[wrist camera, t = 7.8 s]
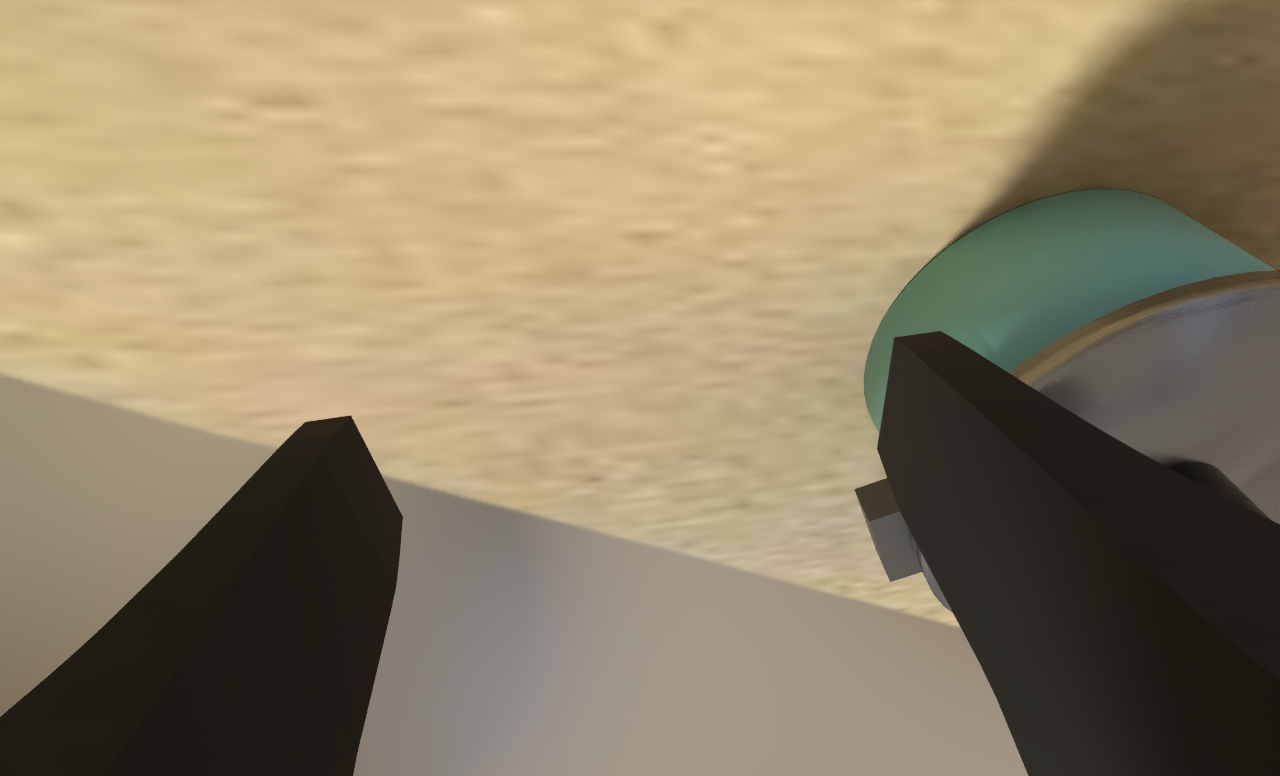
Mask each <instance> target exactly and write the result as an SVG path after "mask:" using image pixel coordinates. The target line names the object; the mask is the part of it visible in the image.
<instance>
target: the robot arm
mask: <svg viewBox="0 0 1280 776" xmlns="http://www.w3.org/2000/svg"><path fill="white" fill-rule="evenodd" d="M877 450H878V452H879V455H880V458H881V461H882V464H883V467H884V469H885V472H886V475H887V478H888V481H889V484H890V486H891V489H892V491H893V494H894V497H895V499H896V502H897V504H898V507H899V510H900V512H901V514H902V516H903V518H904V520H905V522H906V524H907V526H908V528H909V530H910V532H911V534H912V536H913V538H914V540H915V542H916V544H917V546H918V547H919V549H920V551H921V553H922V555H923V557H924V559H925V561H926V563H927V565H928V567H929V568H930V570H931V572H932V574H933V576H934V578H935V580H936V582H937V584H938V585H939V587H940V589H941V591H942V593H943V595H944V597H945V599H946V600H947V602H948V604H949V606H950V608H951V610H952V612H953V614H954V615H955V617H956V619H957V621H958V623H959V625H960V627H961V629H962V630H963V632H964V634H965V636H966V638H967V640H968V642H969V644H970V646H971V647H972V649H973V651H974V653H975V655H976V657H977V659H978V661H979V663H980V664H981V666H982V669H983V671H984V673H985V675H986V677H987V679H988V681H989V683H990V685H991V687H992V689H993V692H994V694H995V696H996V698H997V700H998V703H999V705H1000V708H1001V710H1002V712H1003V715H1004V717H1005V720H1006V722H1007V724H1008V727H1009V729H1010V732H1011V734H1012V737H1013V739H1014V742H1015V744H1016V746H1017V749H1018V751H1019V754H1020V756H1021V759H1022V761H1023V763H1024V766H1025V768H1026V770H1027V773H1028V775H1029V776H1280V524H1278V523H1276V522H1274V521H1272V520H1270V519H1268V518H1266V517H1264V516H1261V515H1259V514H1257V513H1255V512H1253V511H1251V510H1249V509H1247V508H1245V507H1243V506H1240V505H1238V504H1236V503H1234V502H1232V501H1230V500H1228V499H1226V498H1224V497H1222V496H1220V495H1218V494H1217V493H1215V492H1213V491H1211V490H1209V489H1207V488H1205V487H1203V486H1201V485H1199V484H1197V483H1195V482H1193V481H1191V480H1190V479H1188V478H1186V477H1184V476H1182V475H1180V474H1179V473H1177V472H1175V471H1173V470H1171V469H1170V468H1168V467H1166V466H1164V465H1162V464H1160V463H1159V462H1157V461H1155V460H1153V459H1151V458H1149V457H1148V456H1146V455H1144V454H1142V453H1140V452H1139V451H1137V450H1135V449H1133V448H1131V447H1130V446H1128V445H1126V444H1124V443H1123V442H1121V441H1119V440H1118V439H1116V438H1114V437H1112V436H1111V435H1109V434H1107V433H1106V432H1104V431H1102V430H1100V429H1099V428H1097V427H1095V426H1094V425H1092V424H1090V423H1089V422H1087V421H1085V420H1084V419H1082V418H1080V417H1079V416H1077V415H1075V414H1074V413H1072V412H1071V411H1069V410H1067V409H1066V408H1064V407H1062V406H1061V405H1059V404H1057V403H1056V402H1054V401H1053V400H1051V399H1049V398H1048V397H1046V396H1045V395H1043V394H1041V393H1040V392H1038V391H1037V390H1035V389H1033V388H1032V387H1030V386H1029V385H1027V384H1026V383H1024V382H1022V381H1021V380H1019V379H1018V378H1016V377H1015V376H1013V375H1011V374H1010V373H1008V372H1007V371H1005V370H1004V369H1002V368H1000V367H999V366H997V365H996V364H994V363H993V362H991V361H989V360H988V359H986V358H985V357H983V356H981V355H980V354H978V353H977V352H975V351H974V350H972V349H970V348H969V347H967V346H966V345H964V344H962V343H961V342H959V341H957V340H956V339H954V338H952V337H950V336H949V335H947V334H945V333H943V332H942V331H935V332H928V333H921V334H915V335H908V336H901V337H894V342H893V348H892V355H891V361H890V368H889V374H888V381H887V388H886V394H885V401H884V407H883V414H882V420H881V427H880V433H879V440H878V447H877ZM402 520H403V516H402V514H401V512H400V511H399V509H398V507H397V505H396V503H395V501H394V499H393V497H392V495H391V493H390V491H389V490H388V487H387V485H386V483H385V481H384V479H383V477H382V475H381V473H380V471H379V470H378V468H377V466H376V464H375V462H374V460H373V458H372V456H371V454H370V452H369V450H368V448H367V446H366V444H365V442H364V440H363V438H362V436H361V434H360V432H359V431H358V429H357V427H356V425H355V423H354V421H353V419H352V417H351V416H345V417H338V418H331V419H324V420H317V421H310V422H305V423H304V424H303V425H302V426H301V427H300V428H299V429H298V430H296V431H295V432H294V433H293V434H292V435H291V436H290V437H289V438H288V439H287V440H286V441H285V442H284V443H283V444H282V445H281V446H280V447H279V448H278V449H277V450H276V452H275V453H274V454H273V455H272V456H271V457H270V458H269V459H268V460H267V461H266V462H265V463H264V464H263V465H262V466H261V467H260V468H259V470H257V472H256V473H255V474H254V475H253V476H252V477H251V478H250V479H249V480H248V481H247V482H246V483H245V484H244V486H242V487H241V489H240V490H239V491H238V492H237V493H236V494H235V495H234V496H233V497H232V498H231V499H230V500H229V501H228V502H227V504H225V505H224V506H223V508H222V509H221V510H220V511H219V512H218V513H217V514H216V515H215V516H214V517H213V518H212V519H211V520H210V521H209V522H208V523H207V524H206V525H205V526H204V527H203V528H202V529H201V531H199V533H198V534H197V535H196V536H195V537H194V538H193V539H192V540H191V541H190V542H189V543H188V544H187V545H186V546H185V547H184V548H183V549H182V550H181V551H180V552H179V553H178V554H177V555H176V556H175V557H174V558H173V559H172V560H171V561H170V562H169V563H168V564H167V565H166V566H165V567H164V568H163V569H162V570H161V571H160V572H159V573H158V574H157V575H156V576H155V577H154V578H153V579H152V580H151V581H150V582H149V583H148V584H146V585H145V587H143V588H142V589H141V590H140V591H139V592H138V593H137V594H136V595H135V596H134V597H133V598H132V599H131V600H130V601H129V602H128V603H127V604H126V605H125V606H124V607H123V608H122V609H121V610H120V611H119V612H118V613H117V614H116V615H115V616H114V617H113V618H112V619H111V620H109V622H108V623H106V624H105V625H104V626H103V627H102V629H100V630H99V631H98V632H97V633H96V634H95V635H94V636H93V637H92V638H90V639H89V640H88V641H87V642H86V643H85V644H84V645H83V646H82V647H81V648H80V649H78V650H77V651H76V652H75V653H74V654H73V655H72V656H71V657H69V658H68V659H67V660H66V661H65V662H64V663H63V664H62V665H60V666H59V667H58V668H57V669H56V670H55V671H54V672H53V673H51V674H50V675H49V676H48V677H47V678H46V679H44V680H43V681H42V682H41V683H40V684H38V686H36V687H35V688H34V689H33V690H31V691H30V692H29V693H28V694H27V695H26V696H24V697H23V698H22V699H21V700H20V701H19V702H17V703H16V704H15V705H14V706H13V707H11V708H10V709H9V710H8V711H7V712H6V713H4V714H3V715H2V716H1V717H0V776H353V773H354V767H355V762H356V757H357V752H358V747H359V744H360V739H361V735H362V731H363V727H364V723H365V718H366V714H367V710H368V706H369V702H370V697H371V693H372V689H373V685H374V680H375V676H376V672H377V668H378V664H379V659H380V655H381V651H382V647H383V643H384V638H385V634H386V630H387V625H388V620H389V616H390V612H391V608H392V603H393V599H394V594H395V589H396V582H397V575H398V566H399V556H400V545H401V531H402Z"/></svg>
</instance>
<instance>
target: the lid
mask: <svg viewBox="0 0 1280 776" xmlns="http://www.w3.org/2000/svg"><path fill="white" fill-rule="evenodd" d="M1010 374H1011V375H1013V376H1015V377H1016V378H1018V379H1019V380H1021V381H1022V382H1024V383H1026V384H1027V385H1029V386H1030V387H1032V388H1033V389H1035V390H1037V391H1038V392H1040V393H1041V394H1043V395H1045V396H1046V397H1048V398H1049V399H1051V400H1053V401H1054V402H1056V403H1057V404H1059V405H1061V406H1062V407H1064V408H1066V409H1067V410H1069V411H1071V412H1072V413H1074V414H1075V415H1077V416H1079V417H1080V418H1082V419H1084V420H1085V421H1087V422H1089V423H1090V424H1092V425H1094V426H1095V427H1097V428H1099V429H1100V430H1102V431H1104V432H1106V433H1107V434H1109V435H1111V436H1112V437H1114V438H1116V439H1118V440H1119V441H1121V442H1123V443H1124V444H1126V445H1128V446H1130V447H1131V448H1133V449H1135V450H1137V451H1139V452H1140V453H1142V454H1144V455H1146V456H1148V457H1149V458H1151V459H1153V460H1155V461H1157V462H1159V463H1160V464H1162V465H1164V466H1166V467H1168V468H1170V469H1171V470H1173V471H1175V472H1177V473H1179V474H1180V475H1182V476H1184V477H1186V478H1188V479H1190V480H1191V481H1193V482H1195V483H1197V484H1199V485H1201V486H1203V487H1205V488H1207V489H1209V490H1211V491H1213V492H1215V493H1217V494H1218V495H1220V496H1222V497H1224V498H1226V499H1228V500H1230V501H1232V502H1234V503H1236V504H1238V505H1240V506H1243V507H1245V508H1247V509H1249V510H1251V511H1253V512H1255V513H1257V514H1259V515H1261V516H1264V517H1266V518H1268V519H1270V520H1272V521H1274V522H1276V523H1278V524H1280V270H1275V271H1253V272H1246V273H1240V274H1233V275H1227V276H1220V277H1214V278H1210V279H1207V280H1203V281H1199V282H1195V283H1191V284H1187V285H1183V286H1179V287H1175V288H1172V289H1170V290H1167V291H1164V292H1161V293H1158V294H1155V295H1152V296H1150V297H1147V298H1144V299H1141V300H1138V301H1135V302H1133V303H1131V304H1129V305H1126V306H1124V307H1122V308H1120V309H1117V310H1115V311H1113V312H1111V313H1108V314H1106V315H1104V316H1102V317H1099V318H1097V319H1095V320H1093V321H1092V322H1090V323H1088V324H1086V325H1084V326H1082V327H1080V328H1079V329H1077V330H1075V331H1073V332H1071V333H1069V334H1067V335H1066V336H1064V337H1062V338H1060V339H1059V340H1057V341H1056V342H1054V343H1052V344H1051V345H1049V346H1048V347H1046V348H1045V349H1043V350H1042V351H1040V352H1039V353H1037V354H1035V355H1034V356H1032V357H1031V358H1029V359H1028V360H1026V361H1025V362H1024V363H1022V364H1021V365H1020V366H1018V367H1017V368H1016V369H1015V370H1013V371H1012V372H1011V373H1010ZM908 536H909V540H910V544H911V548H912V551H913V553H914V555H915V558H916V560H917V562H918V564H919V566H920V568H921V570H922V572H923V574H924V576H925V578H926V580H927V582H928V584H929V586H930V588H931V590H932V592H933V594H934V595H935V596H936V598H937V599H938V600H939V601H940V602H941V603H942V604H943V606H944V607H946V608H947V609H948V610H950V611H951V612H952V610H951V608H950V606H949V604H948V602H947V600H946V599H945V597H944V595H943V593H942V591H941V589H940V587H939V585H938V584H937V582H936V580H935V578H934V576H933V574H932V572H931V570H930V568H929V567H928V565H927V563H926V561H925V559H924V557H923V555H922V553H921V551H920V549H919V547H918V546H917V544H916V542H915V540H914V538H913V536H912V534H911V532H910V530H909V528H908Z"/></svg>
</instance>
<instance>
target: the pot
mask: <svg viewBox="0 0 1280 776" xmlns="http://www.w3.org/2000/svg"><path fill="white" fill-rule="evenodd" d="M1275 270H1276V269H1274V268H1272V267H1271V266H1269V265H1267V264H1266V263H1264V262H1262V261H1261V260H1259V259H1258V258H1256V257H1254V256H1253V255H1251V254H1249V253H1248V252H1246V251H1245V250H1243V249H1241V248H1240V247H1238V246H1236V245H1235V244H1233V243H1232V242H1230V241H1228V240H1227V239H1225V238H1223V237H1222V236H1220V235H1219V234H1217V233H1215V232H1214V231H1212V230H1210V229H1209V228H1207V227H1205V226H1204V225H1202V224H1201V223H1199V222H1197V221H1196V220H1194V219H1192V218H1191V217H1189V216H1188V215H1186V214H1184V213H1183V212H1181V211H1179V210H1178V209H1176V208H1175V207H1173V206H1171V205H1169V204H1167V203H1166V202H1164V201H1162V200H1160V199H1158V198H1155V197H1152V196H1149V195H1146V194H1143V193H1140V192H1134V191H1127V190H1120V189H1090V190H1082V191H1074V192H1067V193H1063V194H1059V195H1055V196H1051V197H1047V198H1043V199H1040V200H1037V201H1034V202H1031V203H1028V204H1026V205H1023V206H1020V207H1017V208H1015V209H1013V210H1011V211H1008V212H1006V213H1004V214H1002V215H1000V216H998V217H996V218H993V219H991V220H990V221H988V222H986V223H984V224H983V225H981V226H979V227H978V228H976V229H974V230H972V231H971V232H969V233H967V234H966V235H965V236H963V237H962V238H960V239H959V240H958V241H956V242H955V243H953V244H952V245H951V246H949V247H948V248H946V249H945V250H944V251H943V252H941V253H940V254H939V255H938V256H937V257H936V258H935V259H933V260H932V261H931V262H930V263H929V264H928V265H926V266H925V267H924V268H923V269H922V270H921V271H920V272H919V273H918V275H917V276H916V277H915V278H914V279H913V280H912V281H911V282H910V283H909V284H908V285H907V286H906V287H905V289H904V290H903V291H902V293H901V294H900V295H899V296H898V298H897V299H896V300H895V302H894V303H893V304H892V306H891V307H890V309H889V311H888V312H887V314H886V315H885V317H884V319H883V320H882V322H881V324H880V326H879V328H878V330H877V332H876V335H875V337H874V339H873V341H872V344H871V347H870V350H869V354H868V357H867V361H866V367H865V374H864V394H865V399H866V404H867V408H868V410H869V413H870V415H871V418H872V420H873V422H874V424H875V426H876V428H877V430H878V432H879V433H880V427H881V420H882V414H883V407H884V401H885V394H886V388H887V381H888V374H889V368H890V361H891V355H892V348H893V342H894V337H901V336H908V335H915V334H921V333H928V332H935V331H942V332H943V333H945V334H947V335H949V336H950V337H952V338H954V339H956V340H957V341H959V342H961V343H962V344H964V345H966V346H967V347H969V348H970V349H972V350H974V351H975V352H977V353H978V354H980V355H981V356H983V357H985V358H986V359H988V360H989V361H991V362H993V363H994V364H996V365H997V366H999V367H1000V368H1002V369H1004V370H1005V371H1007V372H1008V373H1011V372H1012V371H1013V370H1015V369H1016V368H1017V367H1018V366H1020V365H1021V364H1022V363H1024V362H1025V361H1026V360H1028V359H1029V358H1031V357H1032V356H1034V355H1035V354H1037V353H1039V352H1040V351H1042V350H1043V349H1045V348H1046V347H1048V346H1049V345H1051V344H1052V343H1054V342H1056V341H1057V340H1059V339H1060V338H1062V337H1064V336H1066V335H1067V334H1069V333H1071V332H1073V331H1075V330H1077V329H1079V328H1080V327H1082V326H1084V325H1086V324H1088V323H1090V322H1092V321H1093V320H1095V319H1097V318H1099V317H1102V316H1104V315H1106V314H1108V313H1111V312H1113V311H1115V310H1117V309H1120V308H1122V307H1124V306H1126V305H1129V304H1131V303H1133V302H1135V301H1138V300H1141V299H1144V298H1147V297H1150V296H1152V295H1155V294H1158V293H1161V292H1164V291H1167V290H1170V289H1172V288H1175V287H1179V286H1183V285H1187V284H1191V283H1195V282H1199V281H1203V280H1207V279H1210V278H1214V277H1220V276H1227V275H1233V274H1240V273H1246V272H1253V271H1275ZM855 492H856V495H857V498H858V500H859V503H860V506H861V509H862V512H863V514H864V517H865V520H866V523H867V526H868V528H869V531H870V534H871V537H872V540H873V542H874V545H875V548H876V551H877V553H878V555H879V557H880V560H881V562H882V564H883V567H884V569H885V571H886V573H887V576H888V578H889V580H890V582H891V581H895V580H898V579H901V578H904V577H907V576H910V575H914V574H917V573H920V572H922V570H921V568H920V566H919V564H918V562H917V560H916V558H915V555H914V553H913V551H912V548H911V544H910V540H909V536H908V526H907V524H906V522H905V520H904V518H903V516H902V514H901V512H900V510H899V507H898V504H897V502H896V499H895V497H894V494H893V491H892V489H891V486H890V484H889V481H888V478H886V479H883V480H880V481H877V482H874V483H871V484H868V485H866V486H863V487H860V488H857V489H855Z"/></svg>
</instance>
